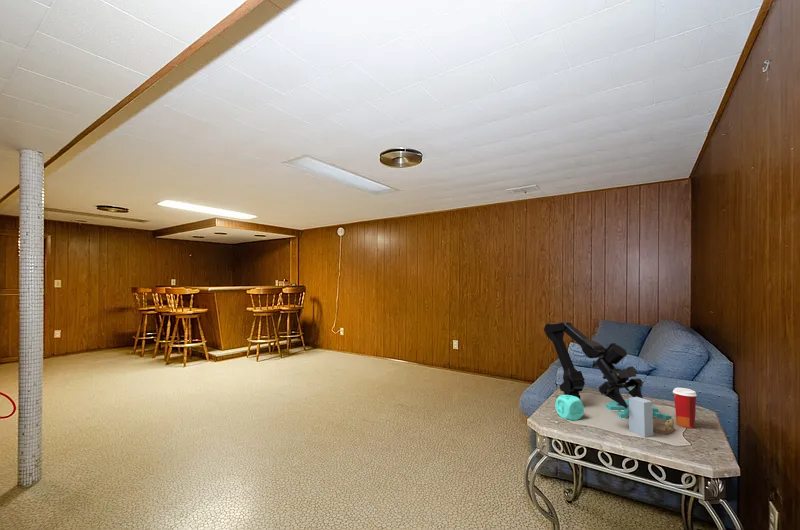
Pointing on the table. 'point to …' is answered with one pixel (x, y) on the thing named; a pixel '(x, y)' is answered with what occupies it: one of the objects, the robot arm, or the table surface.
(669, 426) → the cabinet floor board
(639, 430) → the pale blue upright block
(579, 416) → the decorative dice
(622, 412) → the alien figure
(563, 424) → the table surface
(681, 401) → the paper cup
